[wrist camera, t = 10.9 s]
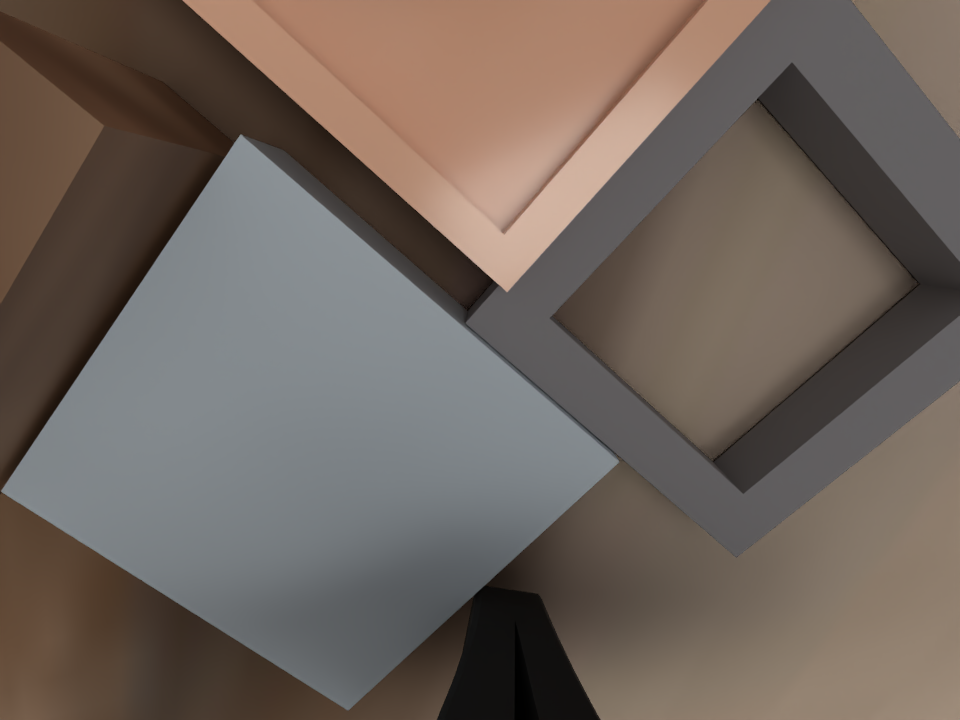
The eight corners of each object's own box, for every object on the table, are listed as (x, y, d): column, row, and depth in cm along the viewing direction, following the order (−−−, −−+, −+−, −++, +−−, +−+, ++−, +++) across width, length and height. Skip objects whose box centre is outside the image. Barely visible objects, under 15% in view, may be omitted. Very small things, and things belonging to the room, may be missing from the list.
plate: (593, 417, 10) (619, 461, 8) (370, 632, 12) (348, 711, 10) (294, 154, 9) (240, 134, 7) (89, 442, 10) (0, 491, 9)
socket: (998, 279, 9) (1077, 288, 7) (708, 520, 10) (735, 557, 9) (756, -14, 7) (805, -58, 6) (468, 310, 9) (465, 323, 8)
